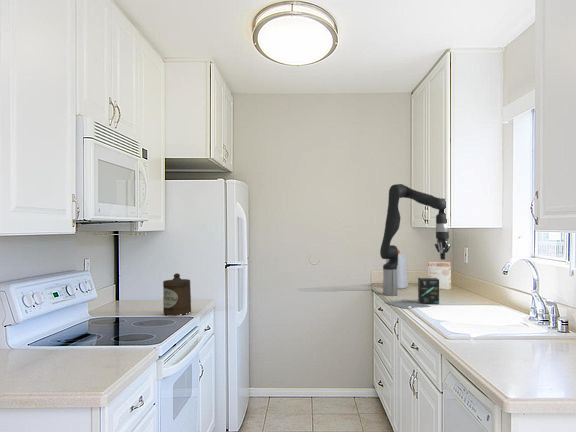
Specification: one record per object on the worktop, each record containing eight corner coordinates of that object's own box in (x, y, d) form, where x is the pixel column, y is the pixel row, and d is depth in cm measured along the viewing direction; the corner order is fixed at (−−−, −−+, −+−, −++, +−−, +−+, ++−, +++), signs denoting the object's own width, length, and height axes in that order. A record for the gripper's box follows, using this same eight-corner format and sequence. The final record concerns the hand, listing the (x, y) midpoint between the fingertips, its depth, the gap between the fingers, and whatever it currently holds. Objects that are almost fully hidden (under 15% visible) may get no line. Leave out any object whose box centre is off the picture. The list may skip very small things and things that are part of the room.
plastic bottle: (382, 288, 345) (382, 250, 345) (390, 286, 357) (390, 249, 358) (402, 289, 336) (401, 251, 337) (409, 287, 348) (409, 250, 349)
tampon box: (436, 301, 282) (436, 277, 282) (439, 304, 273) (439, 279, 273) (417, 301, 283) (417, 277, 283) (420, 303, 274) (420, 278, 274)
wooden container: (158, 313, 255) (158, 273, 255) (181, 310, 265) (181, 271, 266) (172, 317, 244) (172, 275, 245) (196, 313, 255) (196, 273, 255)
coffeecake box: (451, 288, 338) (451, 261, 338) (449, 289, 332) (448, 262, 332) (430, 287, 346) (430, 261, 346) (428, 288, 340) (427, 262, 340)
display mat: (383, 302, 281) (383, 302, 281) (408, 300, 286) (408, 300, 286) (404, 308, 260) (404, 308, 260) (430, 306, 265) (430, 306, 265)
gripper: (430, 231, 287) (430, 259, 287) (444, 231, 275) (444, 260, 275) (440, 230, 290) (441, 258, 289) (454, 231, 277) (455, 260, 277)
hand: (442, 259), depth 282 cm, fingers closed
